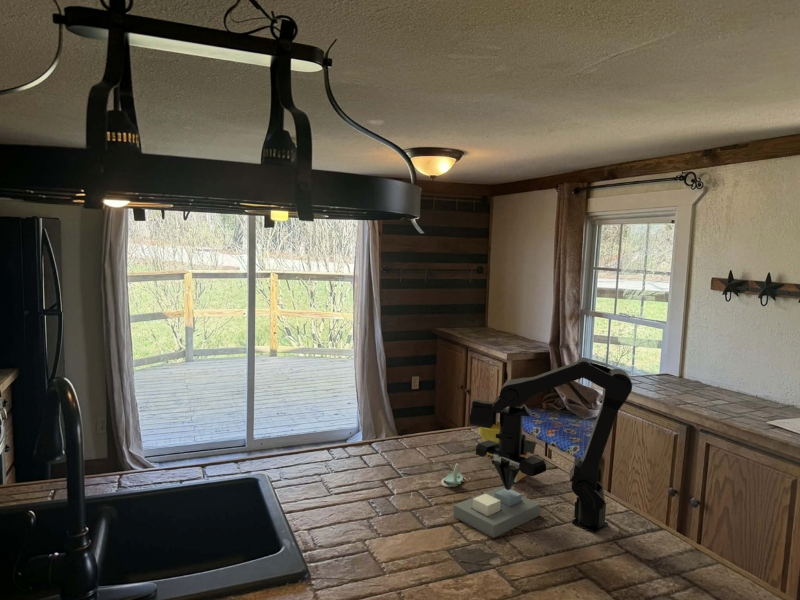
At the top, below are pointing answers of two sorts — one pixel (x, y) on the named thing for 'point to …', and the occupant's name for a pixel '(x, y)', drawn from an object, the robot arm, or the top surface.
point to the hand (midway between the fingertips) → (508, 489)
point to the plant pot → (490, 434)
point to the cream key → (486, 504)
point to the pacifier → (453, 478)
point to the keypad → (497, 515)
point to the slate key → (508, 497)
